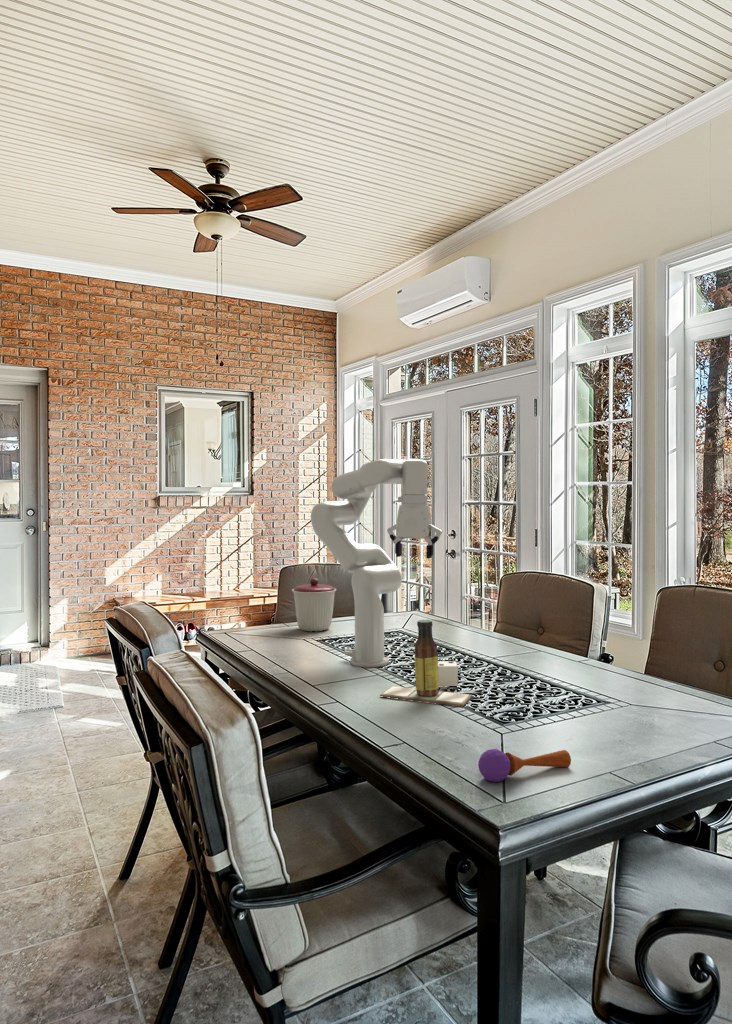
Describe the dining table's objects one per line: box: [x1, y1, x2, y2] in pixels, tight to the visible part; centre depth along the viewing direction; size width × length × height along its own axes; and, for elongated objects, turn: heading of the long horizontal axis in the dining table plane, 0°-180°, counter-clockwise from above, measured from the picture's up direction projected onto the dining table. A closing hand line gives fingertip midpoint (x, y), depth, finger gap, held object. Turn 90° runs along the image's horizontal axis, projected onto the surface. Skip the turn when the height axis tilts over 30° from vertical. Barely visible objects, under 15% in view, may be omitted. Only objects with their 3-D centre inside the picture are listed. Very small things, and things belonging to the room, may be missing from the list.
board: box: [379, 685, 473, 708], centre depth 186 cm, size 23×9×1 cm, turn 68°
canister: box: [291, 577, 337, 632], centre depth 282 cm, size 18×18×21 cm
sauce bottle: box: [414, 619, 440, 696], centre depth 186 cm, size 7×6×20 cm
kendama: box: [478, 748, 572, 783], centre depth 135 cm, size 6×6×20 cm
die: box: [438, 660, 459, 688], centre depth 200 cm, size 6×6×6 cm
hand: (413, 557), depth 209 cm, fingers open, 9 cm apart
